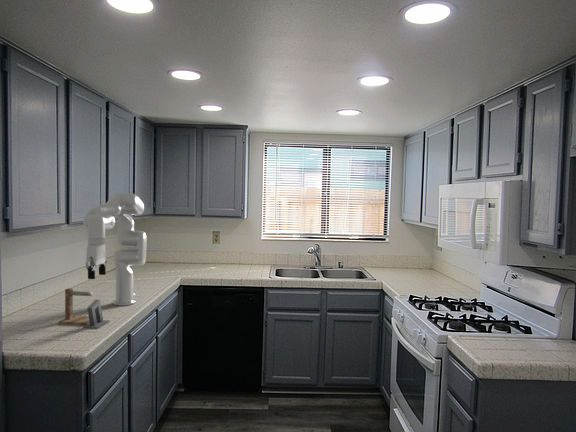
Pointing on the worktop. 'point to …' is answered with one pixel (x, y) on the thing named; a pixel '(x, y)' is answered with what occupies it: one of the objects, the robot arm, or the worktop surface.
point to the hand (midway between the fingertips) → (97, 276)
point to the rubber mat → (97, 324)
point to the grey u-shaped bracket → (95, 312)
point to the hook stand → (69, 309)
